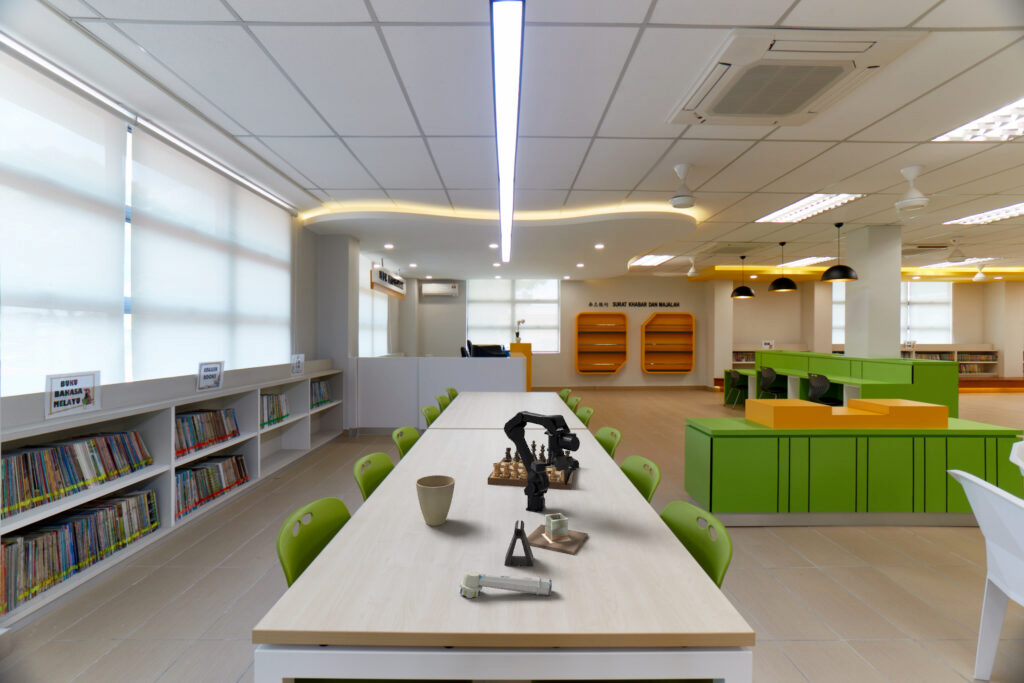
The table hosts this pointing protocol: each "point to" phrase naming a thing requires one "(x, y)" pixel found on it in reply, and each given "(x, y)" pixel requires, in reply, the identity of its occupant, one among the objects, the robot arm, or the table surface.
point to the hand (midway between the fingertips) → (555, 486)
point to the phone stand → (528, 557)
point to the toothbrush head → (503, 584)
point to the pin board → (563, 546)
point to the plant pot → (435, 497)
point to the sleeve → (556, 527)
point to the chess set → (516, 474)
